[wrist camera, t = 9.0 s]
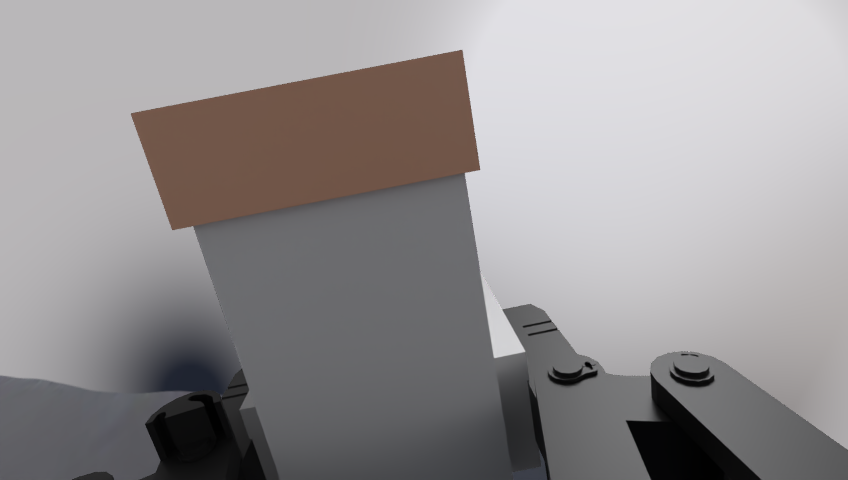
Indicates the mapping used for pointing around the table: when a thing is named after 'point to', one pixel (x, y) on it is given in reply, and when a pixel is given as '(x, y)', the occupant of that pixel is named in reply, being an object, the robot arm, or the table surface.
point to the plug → (346, 265)
